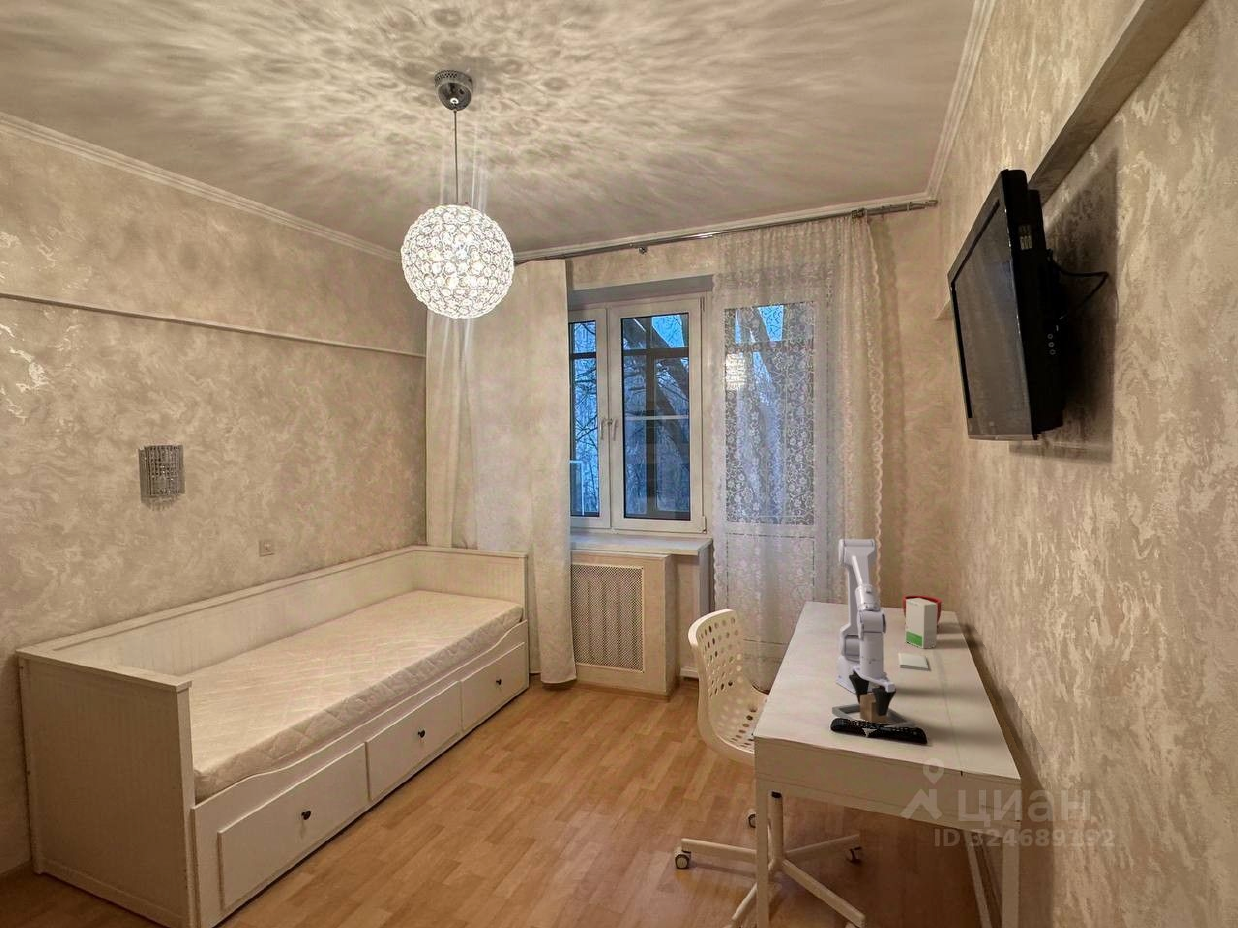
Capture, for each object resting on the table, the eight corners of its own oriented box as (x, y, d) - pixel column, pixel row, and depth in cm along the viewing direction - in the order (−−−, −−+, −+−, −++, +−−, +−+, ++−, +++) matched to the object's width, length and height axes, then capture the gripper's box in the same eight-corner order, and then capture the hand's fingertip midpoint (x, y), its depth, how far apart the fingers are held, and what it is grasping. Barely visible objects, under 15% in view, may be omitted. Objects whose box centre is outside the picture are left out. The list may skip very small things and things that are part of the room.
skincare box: (904, 642, 215) (904, 599, 214) (918, 639, 217) (918, 597, 216) (924, 649, 207) (923, 604, 206) (938, 647, 209) (938, 602, 209)
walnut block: (860, 717, 157) (860, 695, 156) (875, 715, 158) (874, 693, 158) (871, 725, 152) (871, 702, 152) (886, 723, 153) (886, 700, 153)
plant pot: (945, 636, 220) (944, 603, 220) (905, 633, 224) (905, 601, 224) (937, 625, 233) (937, 595, 233) (900, 623, 237) (900, 593, 237)
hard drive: (928, 667, 188) (924, 654, 199) (899, 664, 191) (897, 651, 202) (928, 672, 188) (924, 659, 199) (899, 669, 191) (897, 656, 202)
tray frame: (832, 712, 160) (832, 707, 160) (876, 705, 163) (876, 700, 163) (866, 737, 146) (866, 731, 146) (914, 728, 150) (914, 722, 150)
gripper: (904, 664, 148) (905, 718, 149) (866, 646, 162) (866, 695, 163) (880, 667, 147) (881, 722, 147) (843, 648, 161) (844, 698, 161)
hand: (871, 708), depth 155 cm, fingers open, 7 cm apart
